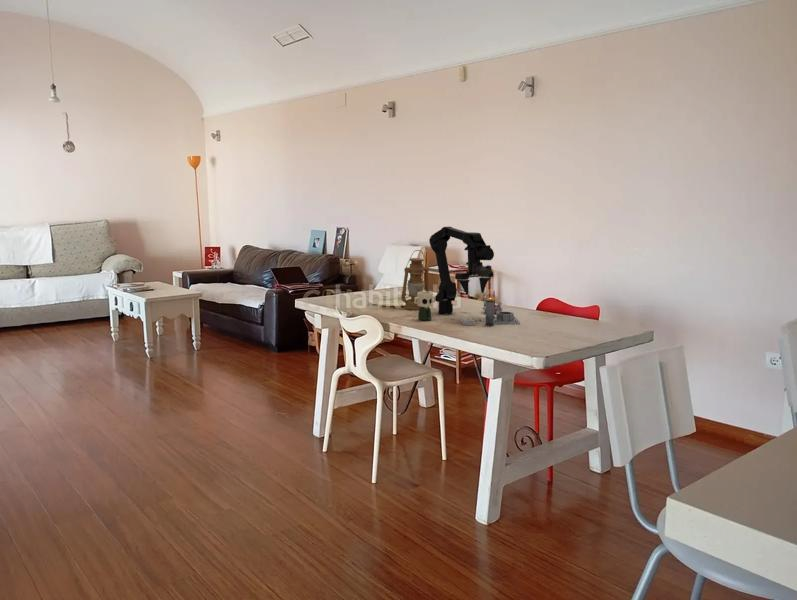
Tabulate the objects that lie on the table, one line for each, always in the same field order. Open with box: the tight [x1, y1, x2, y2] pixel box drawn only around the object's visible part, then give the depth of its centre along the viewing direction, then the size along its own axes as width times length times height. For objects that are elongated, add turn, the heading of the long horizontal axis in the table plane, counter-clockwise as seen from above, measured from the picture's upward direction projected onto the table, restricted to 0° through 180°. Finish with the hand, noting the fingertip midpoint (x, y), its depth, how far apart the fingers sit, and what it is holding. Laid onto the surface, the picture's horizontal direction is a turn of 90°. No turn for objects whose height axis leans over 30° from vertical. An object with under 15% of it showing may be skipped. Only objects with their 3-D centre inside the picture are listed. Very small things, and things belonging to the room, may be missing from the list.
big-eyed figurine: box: [414, 291, 436, 321], centre depth 300 cm, size 11×7×13 cm, turn 114°
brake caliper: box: [482, 290, 503, 315], centre depth 320 cm, size 11×11×12 cm
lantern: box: [400, 249, 430, 311], centre depth 328 cm, size 15×10×30 cm
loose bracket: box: [461, 316, 475, 326], centre depth 292 cm, size 5×8×2 cm, turn 178°
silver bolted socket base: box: [493, 311, 521, 325], centre depth 298 cm, size 12×12×4 cm
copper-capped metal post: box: [484, 296, 496, 327], centre depth 288 cm, size 4×4×12 cm
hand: (474, 293), depth 299 cm, fingers open, 9 cm apart
